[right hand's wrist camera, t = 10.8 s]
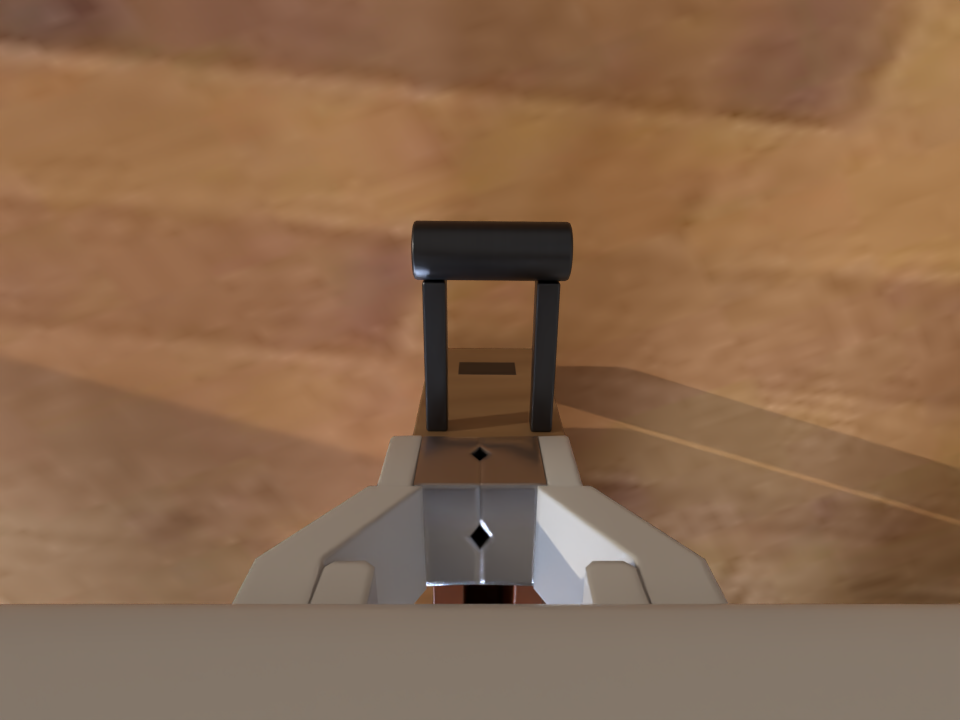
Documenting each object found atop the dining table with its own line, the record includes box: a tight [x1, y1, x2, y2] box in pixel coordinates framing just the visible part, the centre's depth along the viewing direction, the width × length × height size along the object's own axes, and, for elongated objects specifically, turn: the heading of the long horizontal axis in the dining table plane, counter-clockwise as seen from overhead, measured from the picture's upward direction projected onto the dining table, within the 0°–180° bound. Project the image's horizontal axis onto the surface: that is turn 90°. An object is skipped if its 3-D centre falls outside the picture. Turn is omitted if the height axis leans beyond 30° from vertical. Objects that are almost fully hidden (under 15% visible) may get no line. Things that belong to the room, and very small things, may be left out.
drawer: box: [411, 221, 573, 604], centre depth 21 cm, size 24×4×10 cm, turn 0°
